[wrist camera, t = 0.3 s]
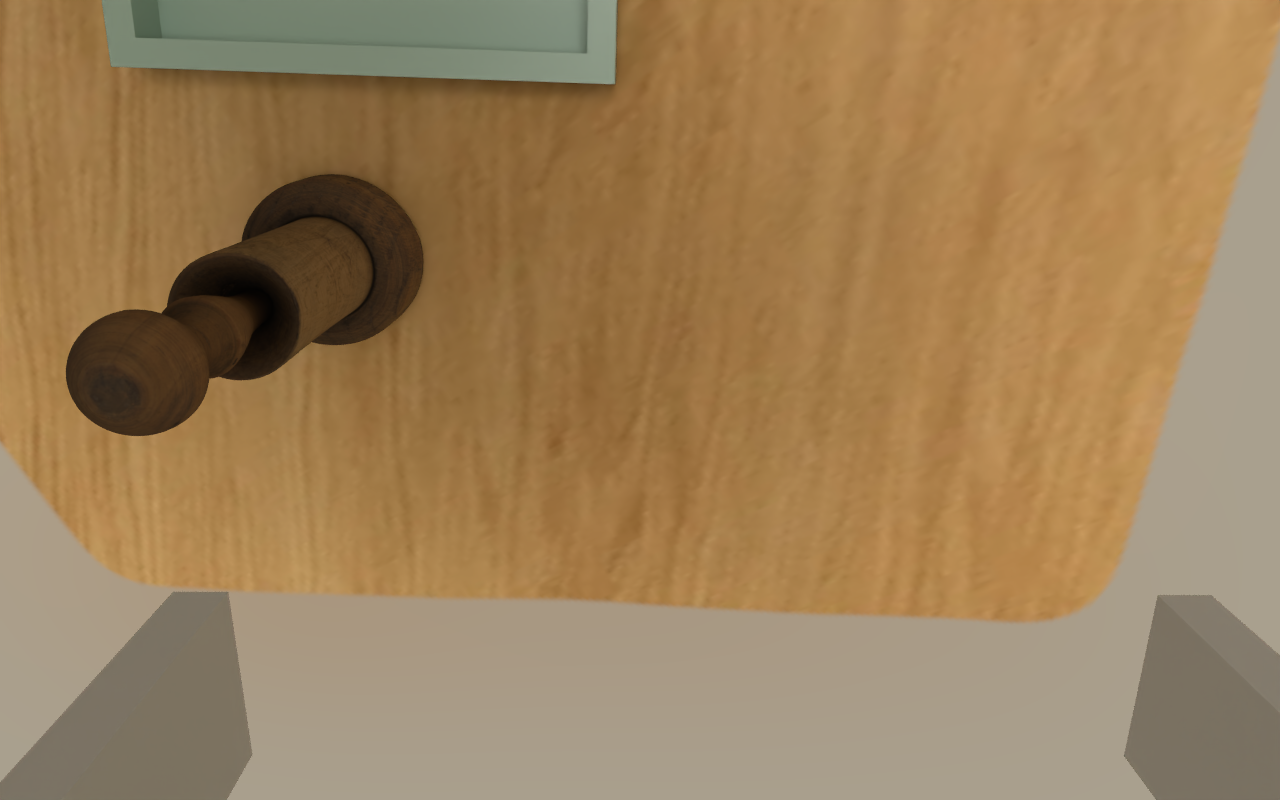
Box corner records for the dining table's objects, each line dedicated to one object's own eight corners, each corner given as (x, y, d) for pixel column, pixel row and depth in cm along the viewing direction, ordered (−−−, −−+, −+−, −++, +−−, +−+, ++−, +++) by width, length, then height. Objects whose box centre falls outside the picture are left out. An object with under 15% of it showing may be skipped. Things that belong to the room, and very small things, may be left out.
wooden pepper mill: (435, 195, 37) (272, 287, 20) (411, 347, 39) (243, 546, 22) (269, 156, 37) (-42, 217, 20) (252, 312, 39) (-42, 489, 22)
